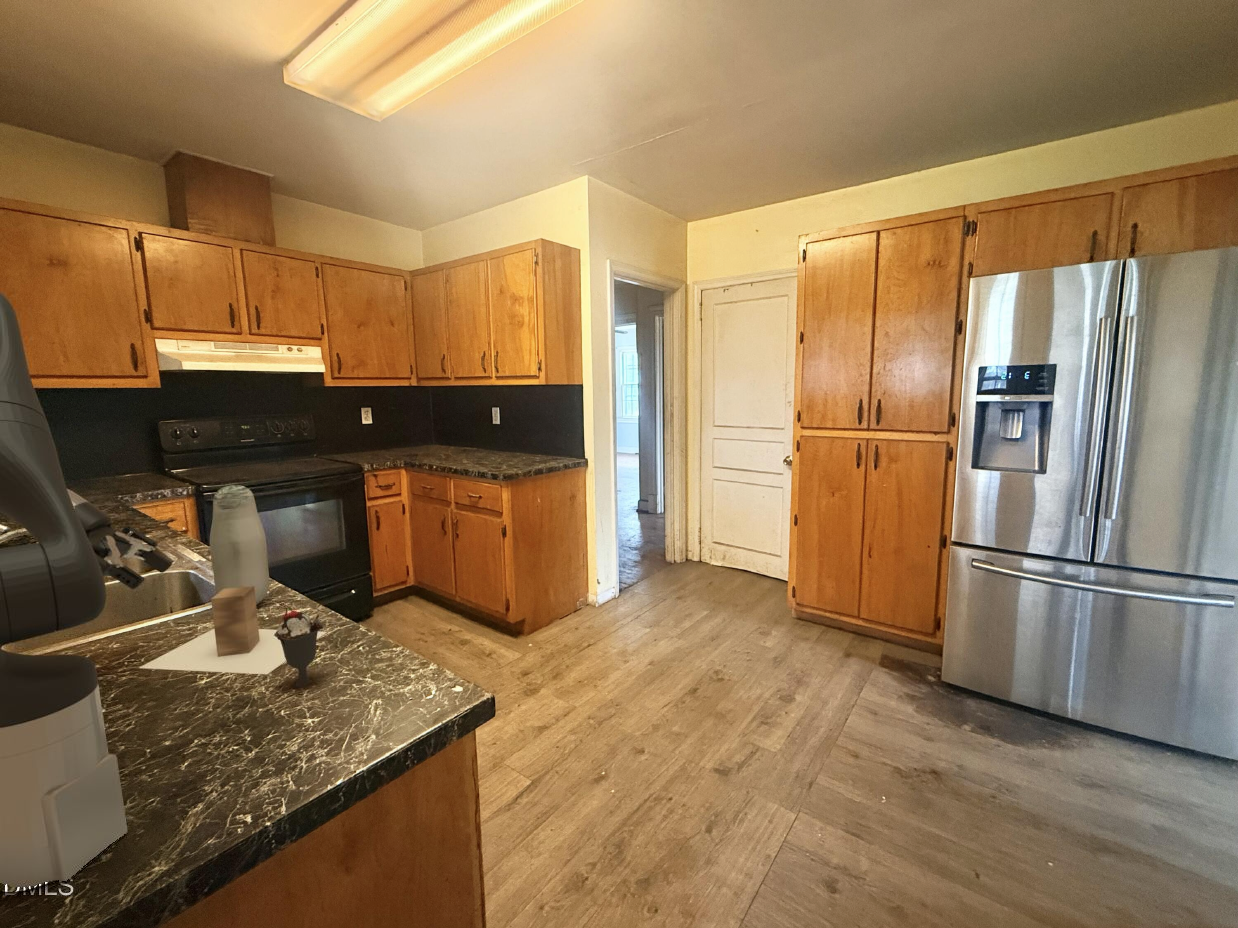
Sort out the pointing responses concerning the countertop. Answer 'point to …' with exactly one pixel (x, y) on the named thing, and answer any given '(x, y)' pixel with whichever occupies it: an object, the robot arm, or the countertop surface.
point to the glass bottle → (238, 542)
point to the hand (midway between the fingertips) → (154, 576)
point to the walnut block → (235, 621)
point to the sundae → (299, 642)
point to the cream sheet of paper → (204, 656)
